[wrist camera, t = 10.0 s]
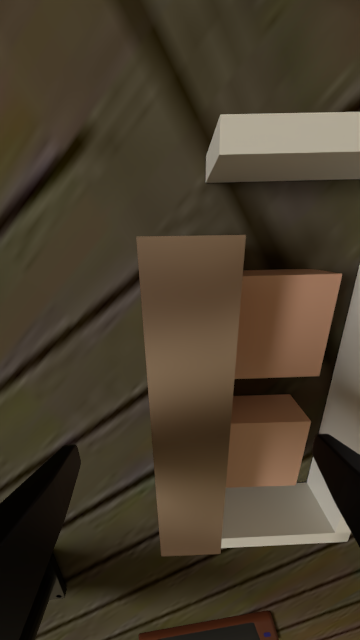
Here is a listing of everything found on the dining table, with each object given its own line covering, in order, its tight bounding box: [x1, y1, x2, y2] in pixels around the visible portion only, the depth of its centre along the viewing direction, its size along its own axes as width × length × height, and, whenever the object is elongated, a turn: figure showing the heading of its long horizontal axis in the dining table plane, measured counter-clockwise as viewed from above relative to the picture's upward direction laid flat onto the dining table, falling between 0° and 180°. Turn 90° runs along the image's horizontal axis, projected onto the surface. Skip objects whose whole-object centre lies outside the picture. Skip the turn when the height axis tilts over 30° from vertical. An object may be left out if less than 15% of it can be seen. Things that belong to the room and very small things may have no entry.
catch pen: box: [206, 112, 360, 548], centre depth 11 cm, size 22×9×3 cm, turn 2°
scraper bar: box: [136, 235, 246, 556], centre depth 11 cm, size 15×3×5 cm, turn 1°
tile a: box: [226, 394, 311, 488], centre depth 13 cm, size 5×5×2 cm
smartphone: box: [139, 611, 279, 640], centre depth 24 cm, size 7×1×15 cm
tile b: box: [234, 269, 342, 379], centre depth 11 cm, size 5×5×2 cm
